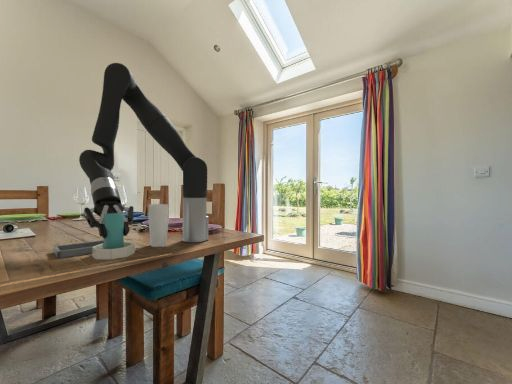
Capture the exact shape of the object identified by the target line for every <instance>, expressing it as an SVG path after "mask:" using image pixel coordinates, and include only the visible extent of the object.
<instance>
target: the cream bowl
mask: <svg viewBox="0 0 512 384" xmlns="http://www.w3.org/2000/svg"><path fill="white" fill-rule="evenodd" d="M135 253H136V243H134V242H131V241H124V247H122V248H115V249H104V243H103V244H99V245H96V246H93V247H92V254H91V256H92V258H93V259H94V260H117V259H123V258H127V257H130V256H132V255H134V254H135Z"/></svg>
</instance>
